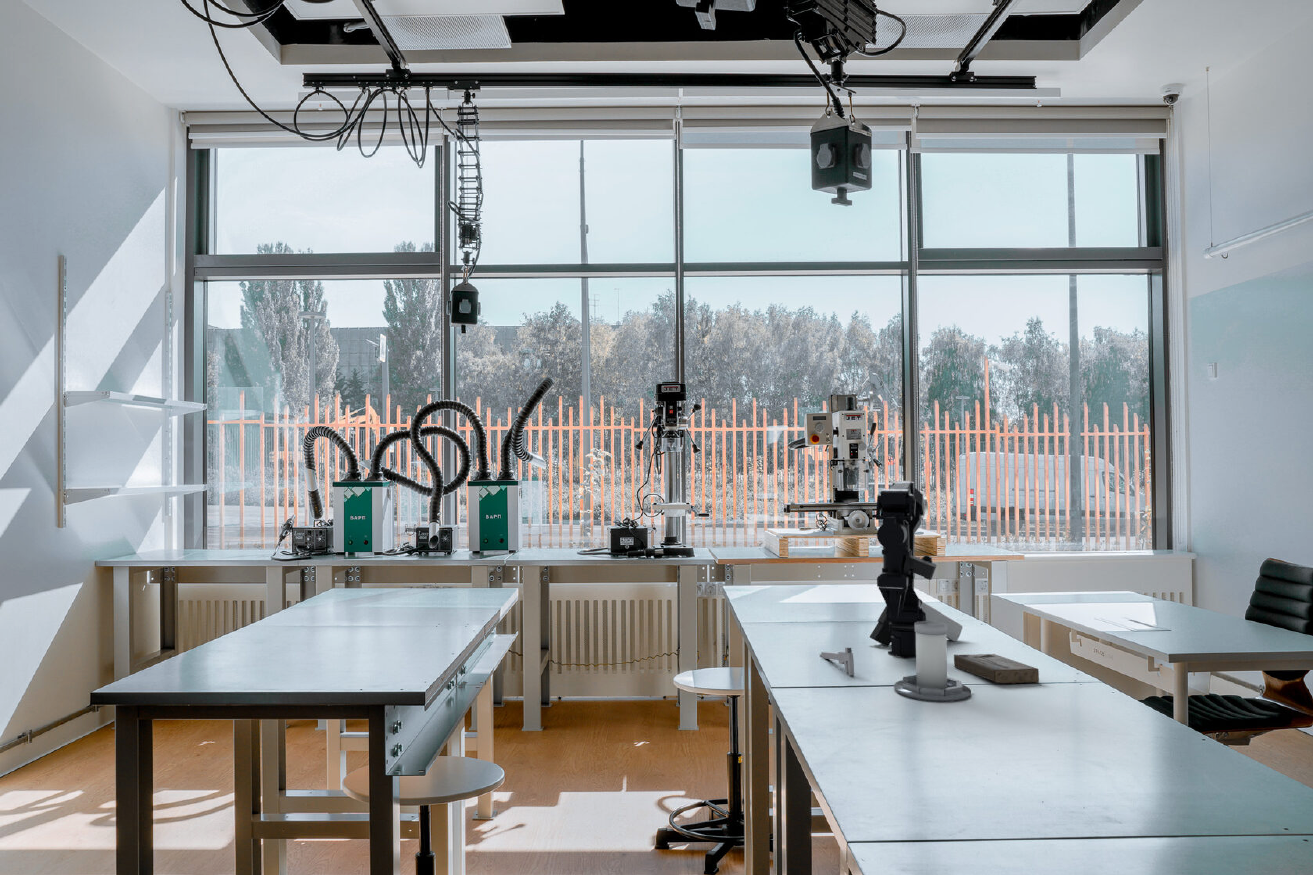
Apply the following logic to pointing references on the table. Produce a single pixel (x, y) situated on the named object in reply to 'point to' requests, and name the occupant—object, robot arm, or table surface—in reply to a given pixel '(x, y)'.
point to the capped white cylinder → (931, 654)
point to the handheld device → (932, 614)
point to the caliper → (842, 659)
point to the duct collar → (932, 690)
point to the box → (997, 668)
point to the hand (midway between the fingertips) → (897, 614)
